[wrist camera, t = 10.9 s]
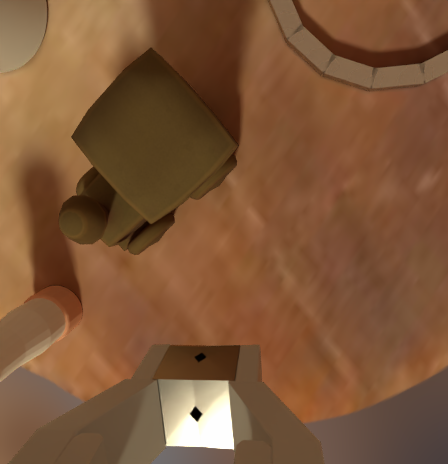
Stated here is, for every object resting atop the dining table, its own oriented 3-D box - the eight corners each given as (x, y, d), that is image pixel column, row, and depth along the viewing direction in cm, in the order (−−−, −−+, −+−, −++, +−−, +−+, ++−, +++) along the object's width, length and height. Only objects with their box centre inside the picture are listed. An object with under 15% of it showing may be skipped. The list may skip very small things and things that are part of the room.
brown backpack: (193, 81, 41) (142, 34, 25) (255, 153, 42) (245, 152, 26) (86, 191, 46) (-13, 211, 30) (144, 254, 47) (78, 306, 31)
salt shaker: (73, 281, 49) (-47, 357, 31) (89, 327, 51) (-17, 426, 32) (29, 290, 51) (-111, 368, 32) (46, 334, 52) (-80, 434, 33)
